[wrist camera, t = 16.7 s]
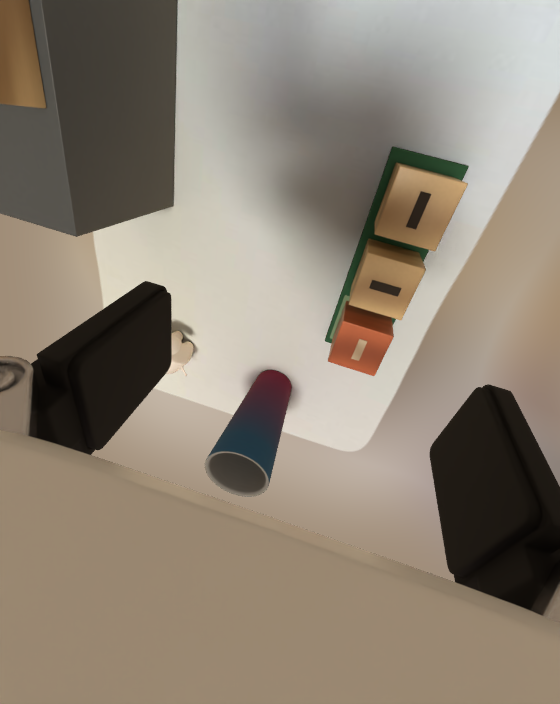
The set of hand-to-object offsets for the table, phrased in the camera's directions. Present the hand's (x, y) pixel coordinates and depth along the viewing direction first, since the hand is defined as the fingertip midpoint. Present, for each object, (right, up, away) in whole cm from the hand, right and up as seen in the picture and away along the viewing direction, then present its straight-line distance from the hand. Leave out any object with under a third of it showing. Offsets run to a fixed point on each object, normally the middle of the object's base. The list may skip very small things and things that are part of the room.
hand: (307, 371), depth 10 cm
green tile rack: (+10, +9, +23) cm, 27 cm away
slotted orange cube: (+8, +3, +26) cm, 28 cm away
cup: (-2, -4, +35) cm, 36 cm away
